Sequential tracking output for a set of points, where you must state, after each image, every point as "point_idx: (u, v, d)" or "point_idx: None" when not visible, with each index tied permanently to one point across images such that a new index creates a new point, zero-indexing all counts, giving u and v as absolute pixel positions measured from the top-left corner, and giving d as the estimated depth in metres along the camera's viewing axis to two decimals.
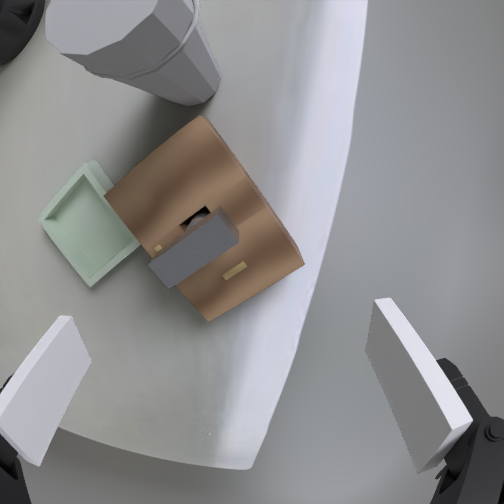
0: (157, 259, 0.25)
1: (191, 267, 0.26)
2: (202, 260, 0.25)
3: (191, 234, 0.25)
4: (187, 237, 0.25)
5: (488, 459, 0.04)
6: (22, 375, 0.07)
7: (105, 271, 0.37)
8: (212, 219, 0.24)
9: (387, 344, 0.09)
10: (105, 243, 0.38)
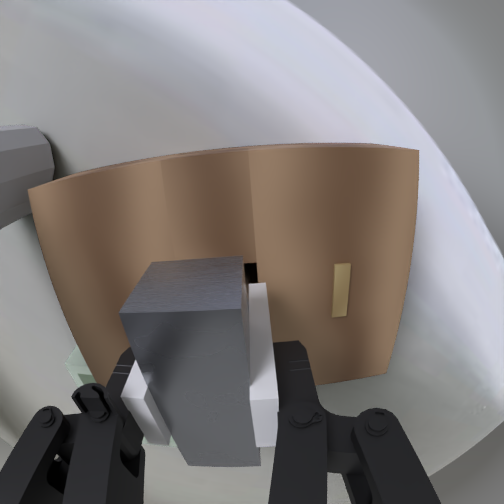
0: (184, 453, 0.09)
1: (239, 427, 0.08)
2: (237, 406, 0.08)
3: (152, 390, 0.08)
4: (156, 399, 0.08)
5: (299, 447, 0.06)
6: None
7: None
8: (128, 331, 0.07)
9: None
10: None
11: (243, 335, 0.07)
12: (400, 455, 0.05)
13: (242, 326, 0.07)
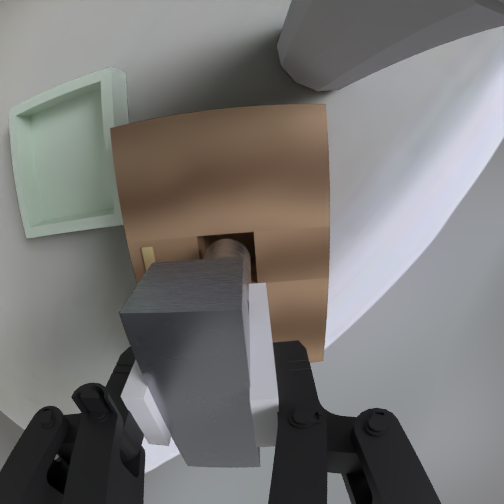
0: (183, 453, 0.09)
1: (239, 428, 0.08)
2: (237, 407, 0.08)
3: (152, 390, 0.08)
4: (157, 400, 0.08)
5: (299, 447, 0.06)
6: None
7: (55, 232, 0.22)
8: (129, 331, 0.07)
9: None
10: (73, 192, 0.23)
11: (244, 336, 0.07)
12: (400, 455, 0.05)
13: (243, 327, 0.07)
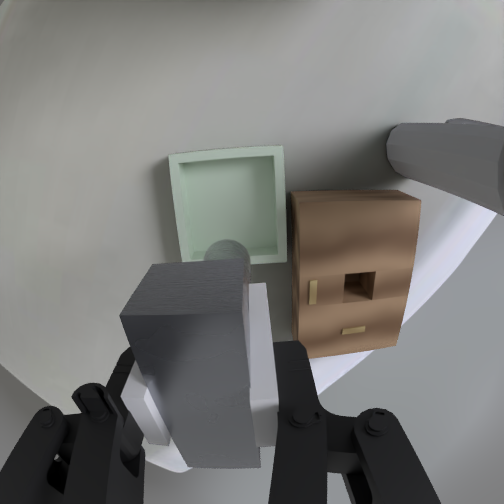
0: (184, 455, 0.09)
1: (239, 429, 0.08)
2: (237, 409, 0.08)
3: (152, 392, 0.08)
4: (157, 401, 0.08)
5: (299, 447, 0.06)
6: None
7: None
8: (129, 333, 0.07)
9: None
10: (228, 232, 0.35)
11: (244, 338, 0.07)
12: (400, 455, 0.05)
13: (243, 329, 0.07)
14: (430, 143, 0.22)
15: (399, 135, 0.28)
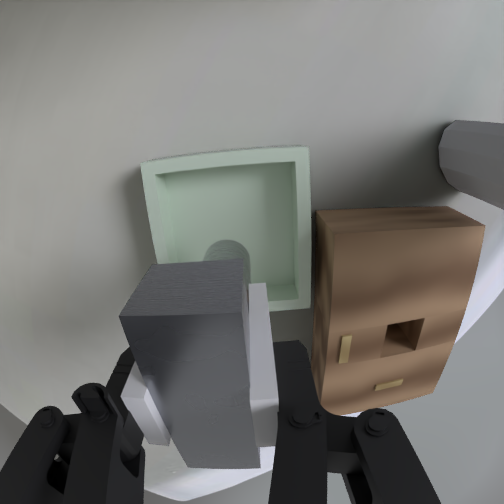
0: (184, 455, 0.09)
1: (239, 430, 0.08)
2: (237, 409, 0.08)
3: (152, 393, 0.08)
4: (157, 402, 0.08)
5: (299, 447, 0.06)
6: None
7: None
8: (128, 334, 0.07)
9: None
10: None
11: (244, 339, 0.07)
12: (400, 455, 0.05)
13: (243, 330, 0.07)
14: None
15: (459, 136, 0.18)
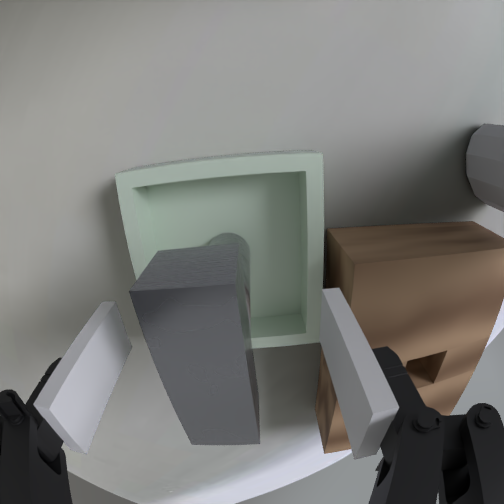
0: (187, 431, 0.10)
1: (238, 401, 0.09)
2: (235, 379, 0.09)
3: (158, 365, 0.09)
4: (162, 374, 0.09)
5: (419, 451, 0.05)
6: (72, 359, 0.08)
7: None
8: (137, 308, 0.08)
9: (331, 331, 0.11)
10: None
11: (238, 308, 0.08)
12: (499, 447, 0.04)
13: (237, 300, 0.08)
14: None
15: (491, 143, 0.14)
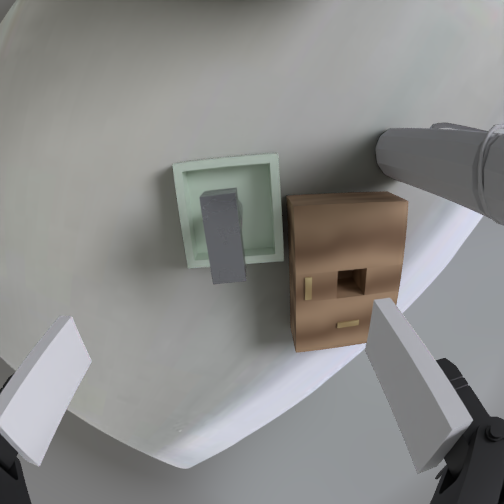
0: (212, 272, 0.26)
1: (235, 247, 0.25)
2: (234, 234, 0.25)
3: (205, 229, 0.25)
4: (206, 234, 0.25)
5: (488, 459, 0.04)
6: (22, 375, 0.07)
7: None
8: (201, 203, 0.24)
9: (387, 344, 0.09)
10: None
11: (236, 202, 0.24)
12: None
13: (236, 199, 0.24)
14: (414, 149, 0.25)
15: (387, 140, 0.31)
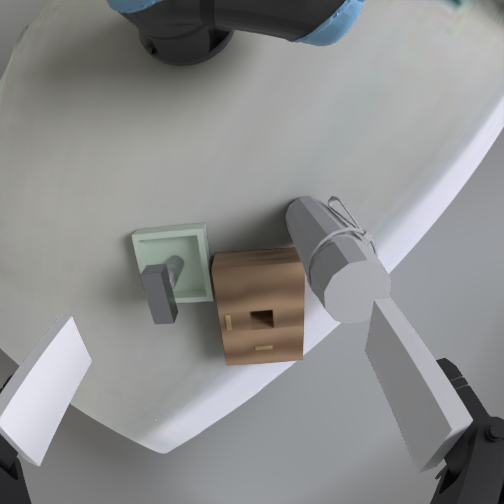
0: (153, 317, 0.40)
1: (165, 304, 0.39)
2: (163, 297, 0.38)
3: (146, 293, 0.38)
4: (146, 296, 0.38)
5: (488, 459, 0.04)
6: (22, 375, 0.07)
7: None
8: (141, 278, 0.37)
9: (387, 344, 0.09)
10: None
11: (162, 278, 0.37)
12: None
13: (161, 276, 0.37)
14: (295, 230, 0.38)
15: (290, 212, 0.44)
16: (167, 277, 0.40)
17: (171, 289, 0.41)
